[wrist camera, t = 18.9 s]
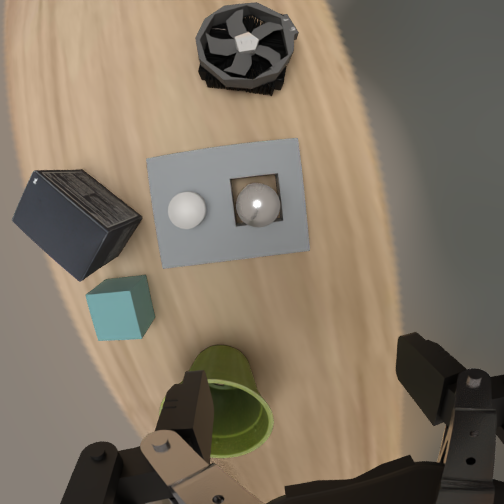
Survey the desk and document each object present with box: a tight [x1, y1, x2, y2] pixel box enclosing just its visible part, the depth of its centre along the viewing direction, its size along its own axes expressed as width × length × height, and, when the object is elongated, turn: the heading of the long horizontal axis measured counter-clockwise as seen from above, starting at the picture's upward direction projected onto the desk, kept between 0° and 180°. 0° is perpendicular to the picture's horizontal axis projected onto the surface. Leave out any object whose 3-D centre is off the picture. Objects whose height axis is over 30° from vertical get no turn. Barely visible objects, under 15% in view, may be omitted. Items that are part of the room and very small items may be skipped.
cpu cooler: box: [196, 2, 299, 96], centre depth 30 cm, size 10×6×10 cm
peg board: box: [146, 138, 310, 269], centre depth 33 cm, size 12×16×5 cm
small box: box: [12, 169, 142, 282], centre depth 31 cm, size 11×6×10 cm, turn 53°
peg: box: [236, 183, 280, 227], centre depth 31 cm, size 4×4×10 cm
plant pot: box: [159, 345, 274, 458], centre depth 35 cm, size 12×12×11 cm
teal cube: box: [86, 275, 155, 341], centre depth 35 cm, size 6×6×6 cm
